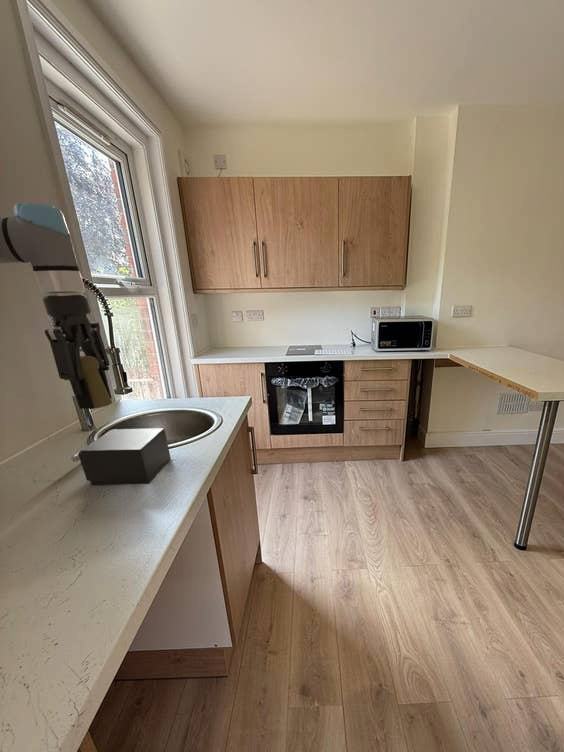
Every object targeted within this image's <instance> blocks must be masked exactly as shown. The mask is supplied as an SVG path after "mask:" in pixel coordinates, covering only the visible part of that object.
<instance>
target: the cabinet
mask: <svg viewBox="0 0 564 752" xmlns="http://www.w3.org/2000/svg"><path fill="white" fill-rule="evenodd" d="M79 452H81V455H82V458H83V461H84V464H85V467H86V470H87V474H88V477H89V480H90V481H89V482H90V485H91V486H111V485H113V486H114V485H120V486H121V485H149V484H151V483H152V481H153V480H154V479H155V478H156V477H157V476H158V474H160V472H161V471H162V470H163V469H164V468H165V467H166V465H167V464H168V463H169V462H170V461H171V460H172V457H171V453H170V447H169V443H168V439H167V435H166V430H165V428H164V427H155V428H151V427H149V428H120V429H119V428H114V429H110V430H108V431H107V432H106V433H104V434H103V435H101V436H99V437H98V438H97V439H95V440H94V441H92V442H91V443H89V444H88V445H86V446H85V447H83V448H82V449H81V450H79Z"/></svg>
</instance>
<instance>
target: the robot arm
mask: <svg viewBox="0 0 564 752" xmlns="http://www.w3.org/2000/svg"><path fill="white" fill-rule="evenodd" d="M13 215H14V216H9V217H8V216H7V217H3V216H2V217H0V264H9V263H10V264H11V263H13V264H14V263H24V264H25V263H30V265H31V267H32V271H33V272H34V275H35V278H36V282H37V285H38V288H39V291H40V293H41V294H44V295H45V296H43V297H42V302H43V305H44V308H45V311H46V314H47V315H48V316H49V317H52V318H53V321H54V322H53V323H54V324H53V325H54V327H52V328H47V329H46V328H45V329H44V335H45V336H46V338H47V339H48V342H49V344H50V348H51V352H52V355H53V359H54V363H55V366H56V369H57V370H56V371H57V374H58V377H59V379H60V380H64V381H69V382H70V386H71V389H72V392H73V394H74V395H75V398H76V401H77V405H78V408H79V409H80V410H93V409H92V408H94V405H93V402H92V399H91V395H90V392H89V389H88V385H87V382H86V379H82V373H81V361H80V356H81V352H80V351H81V350H82V352H83V353H84V356H93V357H95V358H96V359H97V360H98V362H99V369H98V372H99V374H100V376H101V378H102V381H103V383H104V385H105V387H106V390H107V392H108V394H109V396H110V399H111V400H112V398H113V397H112V393H111V390H110V388H109V387H110V386H109V384H108V383H109V382H108V378H107V374H106V371H109V370H110V364H111V363H110V360H109V357H108V354H107V350H106V347H105V343H104V341H103V338H102V335H101V325H100V323H99V322H92V321H90V320H89V318H88V316H87V315H90V314H91V312H92V310H91V307H90V304H89V300H88V297H87V296H86V295H84V293H86V288H85V284H84V281H83V277H82V273H81V271H80V267H79V265H78V264H79V263H78V261H77V257H76V253H75V249H74V245H73V242H72V241H73V239H72V235H71V233H70V231H69V228H68V225H67V222H66V219H65V216H64V213H63V212H62V211H61V210H60V209H59V208H57V207H56V206H54V205H51V204H47V203H46V204H44V203H37V202H23V203H21V202H19V203H16V204H14V205H13ZM80 348H81V350H80Z"/></svg>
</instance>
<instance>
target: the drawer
mask: <svg viewBox="0 0 564 752" xmlns="http://www.w3.org/2000/svg"><path fill="white" fill-rule="evenodd" d="M70 459H71V461H72V462H74V463H76V462H79V461H80V464H81V467H82V470H83V473H84V476H85V479H86V481H87V482H90V480H89V477H88V474H87V470H86V467H85V464H84V461H83V458H82V455H81V452H80V451H78V452H76V453H75V454H73V455H72V456H71V457H70Z"/></svg>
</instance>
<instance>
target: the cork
mask: <svg viewBox="0 0 564 752" xmlns="http://www.w3.org/2000/svg"><path fill="white" fill-rule="evenodd" d="M80 361H81V373H82V379H86V382H87V385H88V389H89V392H90V395H91V399H92V402H93V405H94V408H92V409H91V410H94V409H100V408H105V407H107V406H110V405H111V404H113V401H112V398H111V399H110V396H109V394H108V392H107V390H106V387H105V385H104V383H103V381H102V378H101V376H100V374H99V372H98V369H99V362H98V360H97V359H96V358H95V357H93V356H85V355H80Z"/></svg>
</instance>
